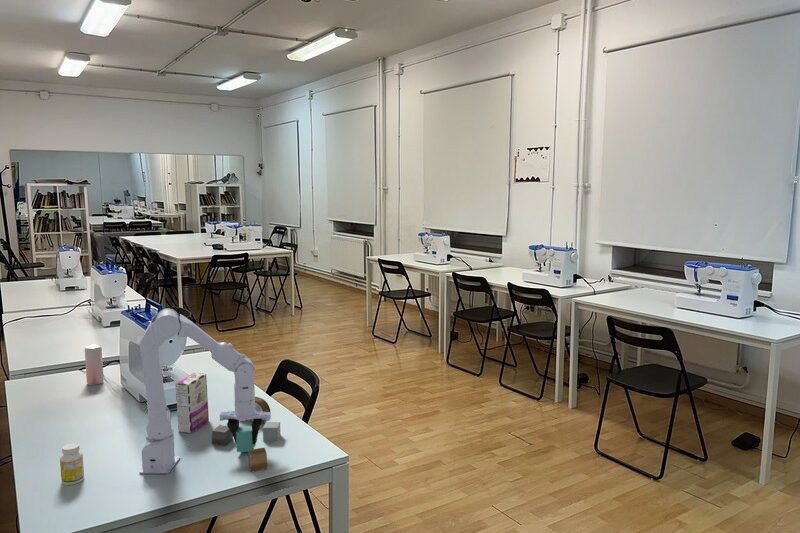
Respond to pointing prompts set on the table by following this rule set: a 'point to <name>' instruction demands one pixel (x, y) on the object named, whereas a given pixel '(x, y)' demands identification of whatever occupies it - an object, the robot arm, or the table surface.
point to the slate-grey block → (271, 431)
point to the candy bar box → (192, 402)
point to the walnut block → (257, 459)
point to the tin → (261, 406)
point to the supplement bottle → (71, 464)
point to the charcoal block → (221, 435)
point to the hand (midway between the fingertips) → (246, 443)
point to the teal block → (244, 439)
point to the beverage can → (94, 364)
